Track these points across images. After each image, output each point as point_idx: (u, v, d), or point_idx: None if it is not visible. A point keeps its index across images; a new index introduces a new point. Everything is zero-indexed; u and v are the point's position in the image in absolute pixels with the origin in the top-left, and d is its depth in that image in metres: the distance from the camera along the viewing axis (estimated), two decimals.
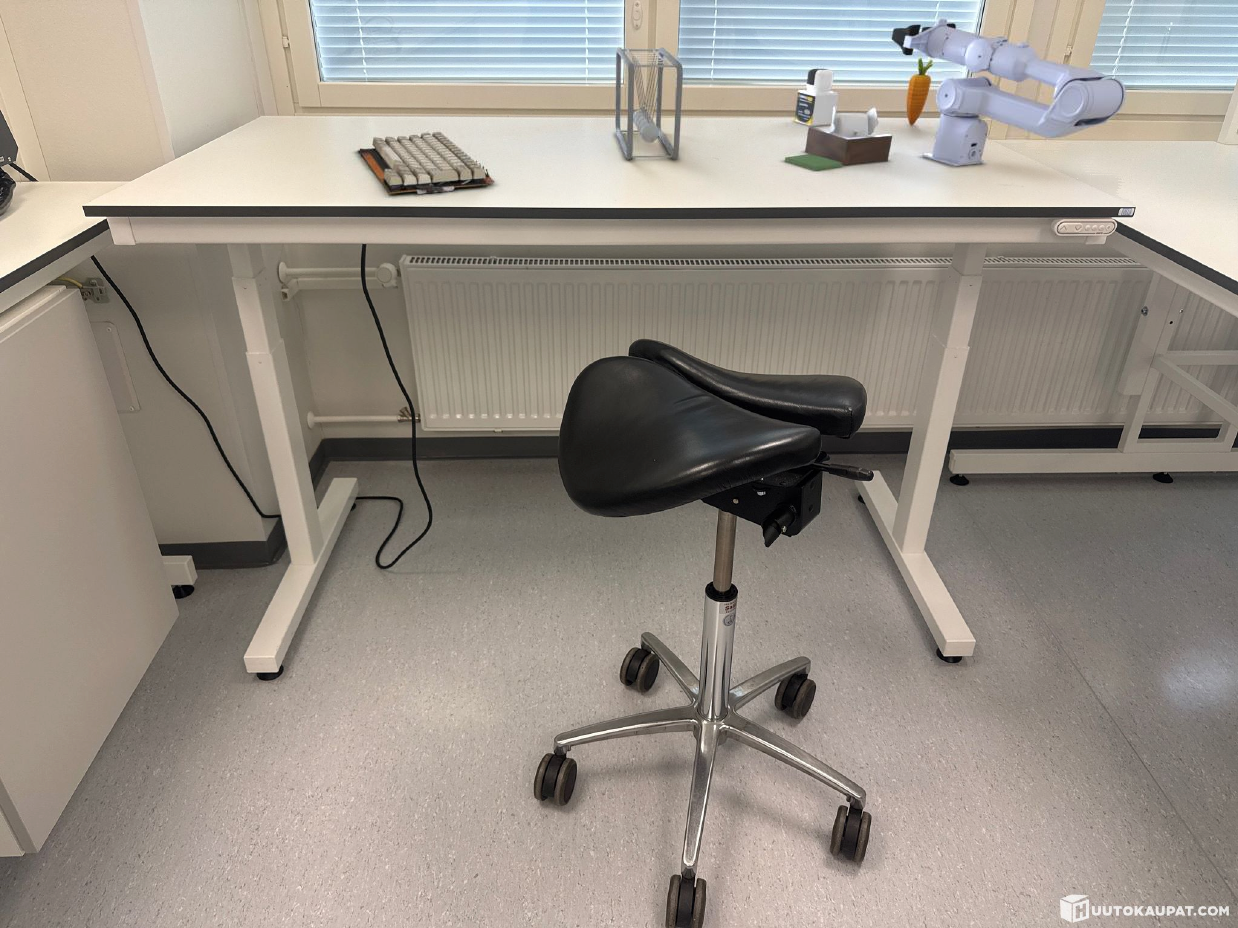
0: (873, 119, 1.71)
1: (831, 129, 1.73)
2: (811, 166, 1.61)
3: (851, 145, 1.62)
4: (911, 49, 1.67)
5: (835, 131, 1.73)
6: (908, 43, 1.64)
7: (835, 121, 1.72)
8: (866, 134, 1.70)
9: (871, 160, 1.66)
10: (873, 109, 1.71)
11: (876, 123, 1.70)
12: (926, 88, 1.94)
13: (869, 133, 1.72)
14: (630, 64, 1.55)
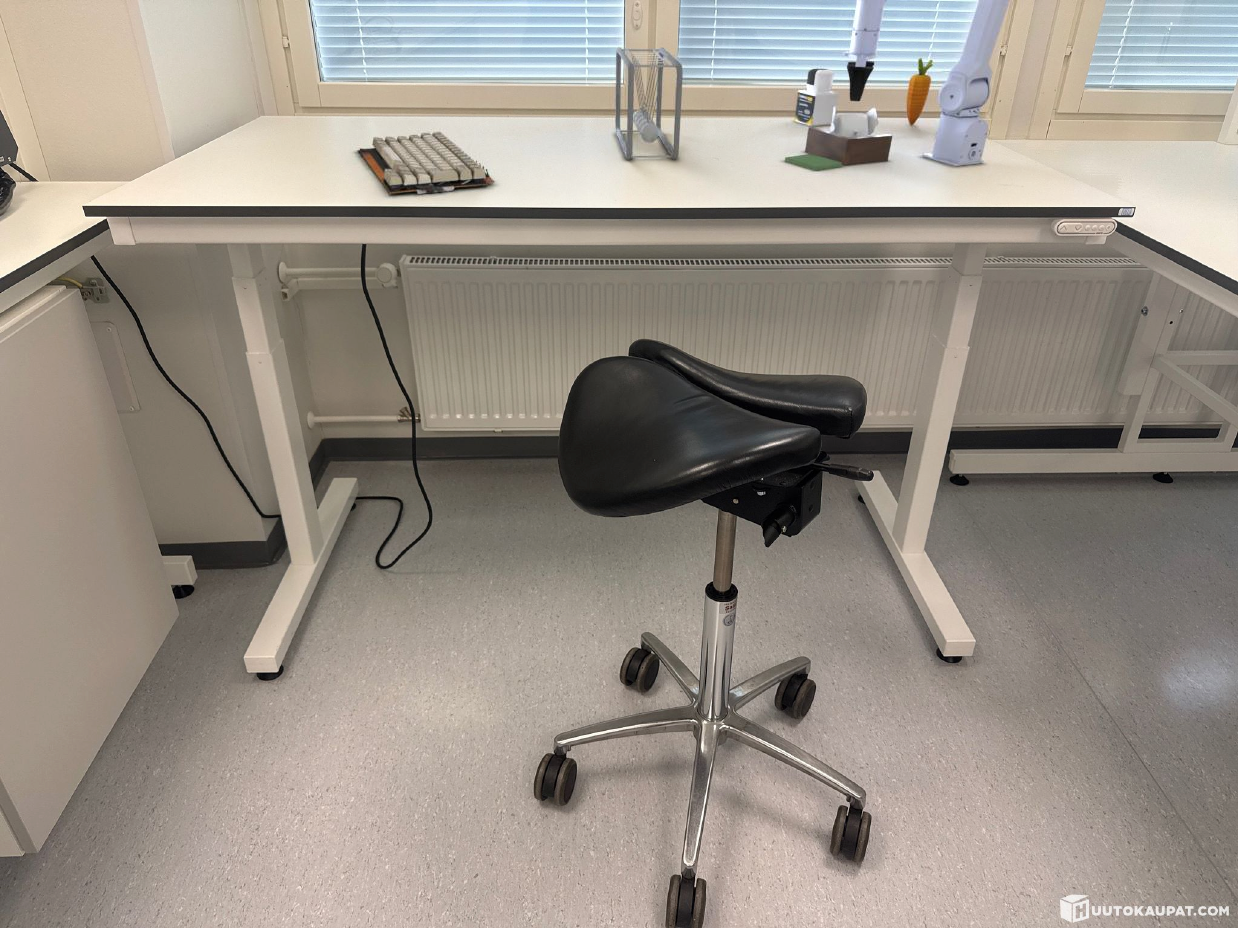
0: (873, 119, 1.71)
1: (831, 129, 1.73)
2: (811, 166, 1.61)
3: (851, 145, 1.62)
4: (868, 67, 1.75)
5: (835, 131, 1.73)
6: (862, 60, 1.71)
7: (835, 121, 1.72)
8: (866, 134, 1.70)
9: (871, 160, 1.66)
10: (873, 109, 1.71)
11: (876, 123, 1.70)
12: (926, 88, 1.94)
13: (869, 133, 1.72)
14: (630, 64, 1.55)
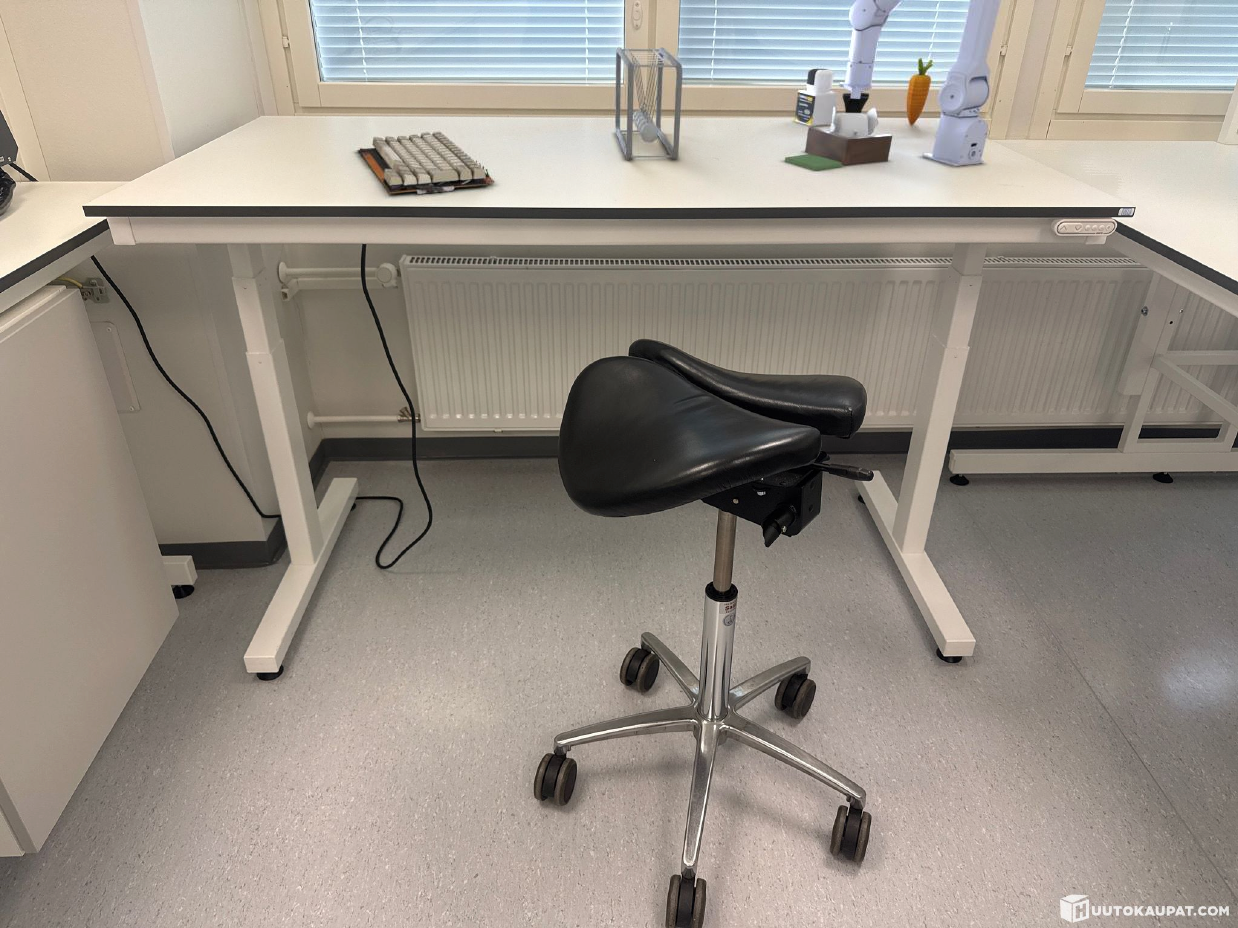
0: (873, 119, 1.71)
1: (831, 129, 1.73)
2: (811, 166, 1.61)
3: (851, 145, 1.62)
4: (863, 97, 1.79)
5: (835, 132, 1.73)
6: (857, 92, 1.74)
7: (835, 121, 1.72)
8: (866, 134, 1.70)
9: (871, 160, 1.66)
10: (873, 109, 1.71)
11: (876, 123, 1.70)
12: (926, 88, 1.94)
13: (869, 133, 1.72)
14: (630, 64, 1.55)
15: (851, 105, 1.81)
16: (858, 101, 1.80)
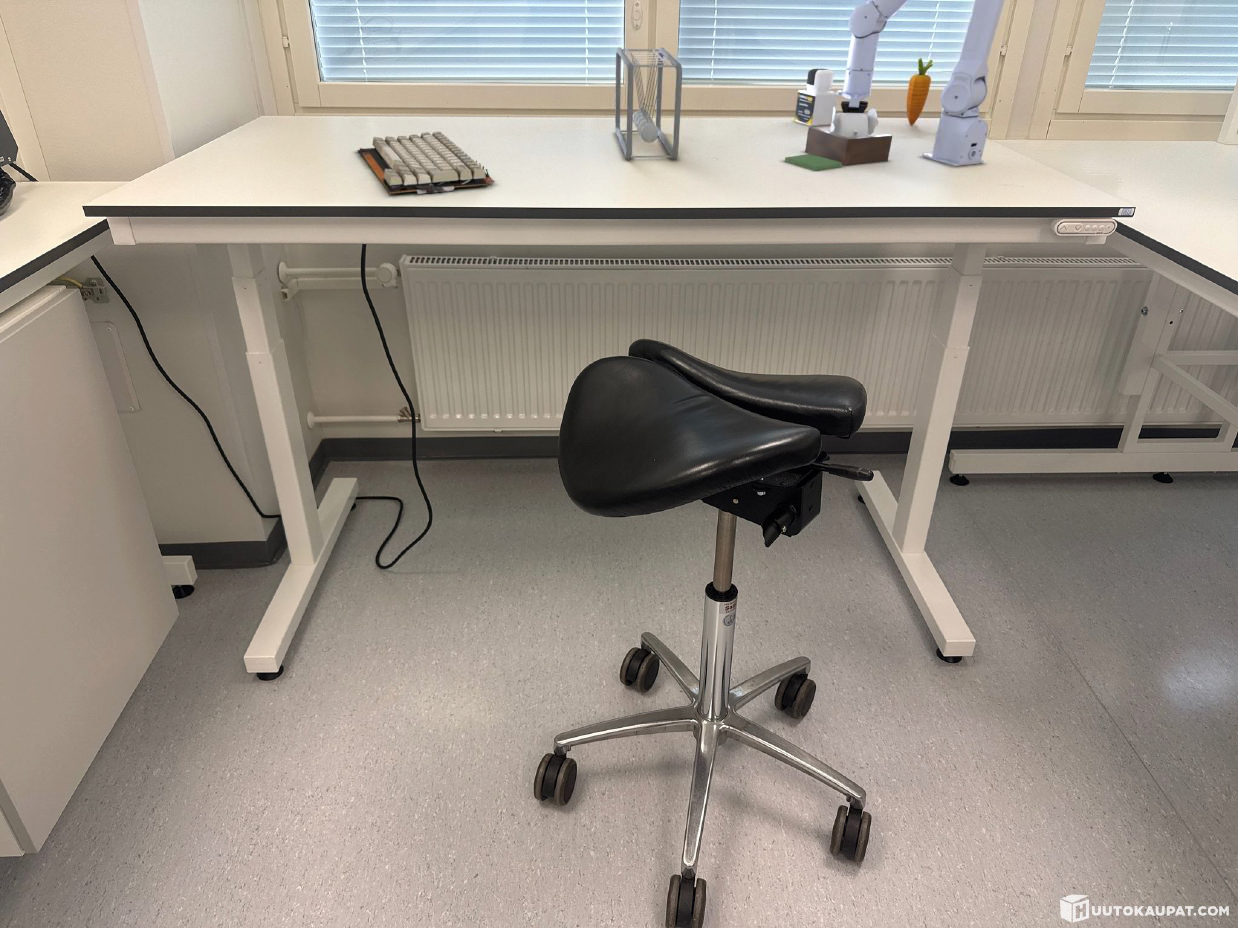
0: (873, 119, 1.71)
1: (831, 129, 1.73)
2: (811, 166, 1.61)
3: (851, 145, 1.62)
4: (862, 105, 1.76)
5: (835, 132, 1.73)
6: (855, 100, 1.70)
7: (835, 121, 1.72)
8: (866, 134, 1.70)
9: (871, 160, 1.66)
10: (873, 109, 1.71)
11: (876, 123, 1.70)
12: (926, 88, 1.94)
13: (869, 133, 1.72)
14: (629, 64, 1.55)
15: None
16: (857, 109, 1.77)
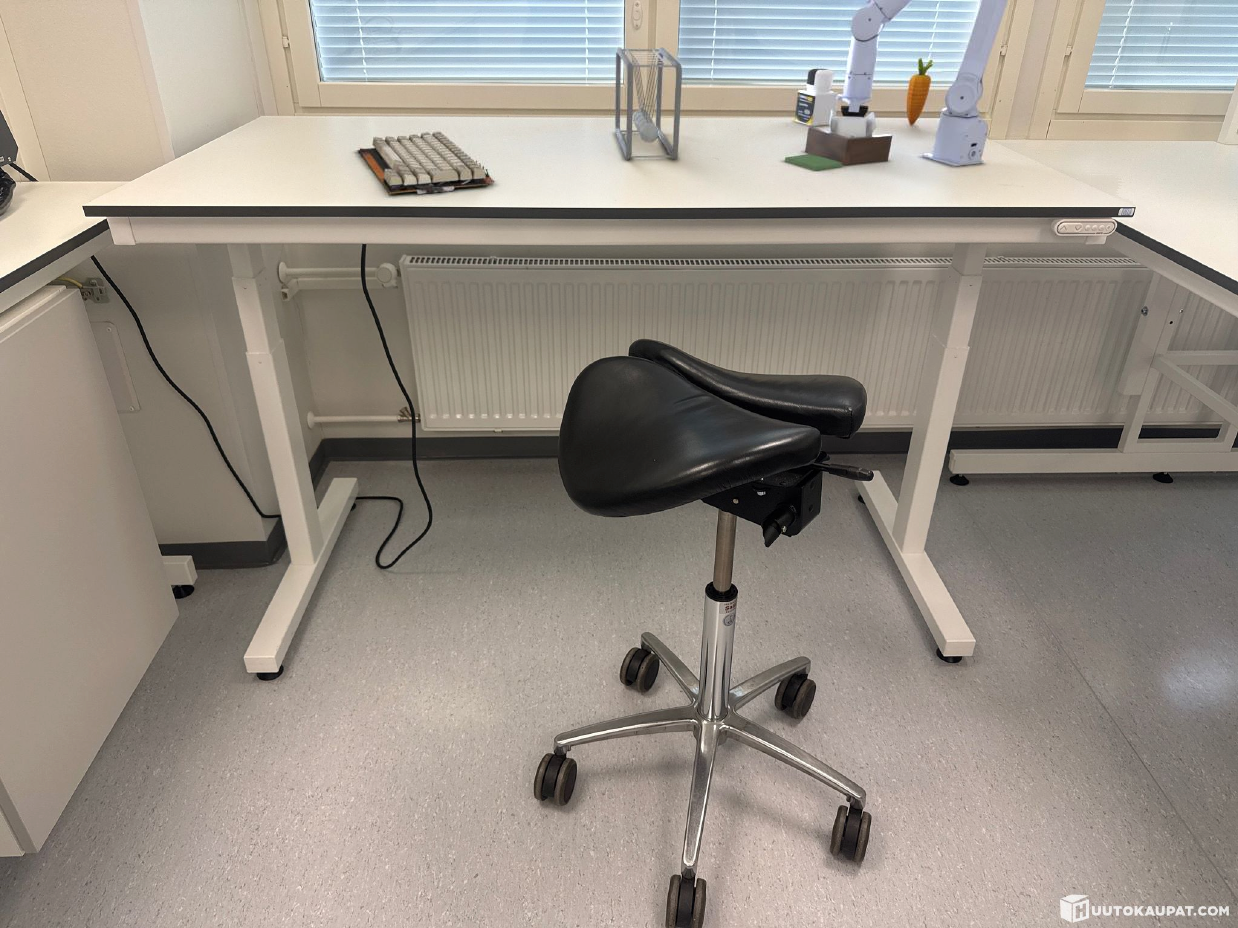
0: (872, 123, 1.67)
1: None
2: (811, 166, 1.61)
3: (851, 145, 1.62)
4: (862, 109, 1.72)
5: None
6: (855, 105, 1.66)
7: (833, 125, 1.69)
8: None
9: (871, 160, 1.66)
10: (872, 113, 1.67)
11: (874, 127, 1.66)
12: (926, 88, 1.94)
13: None
14: (629, 64, 1.55)
15: None
16: (857, 113, 1.73)
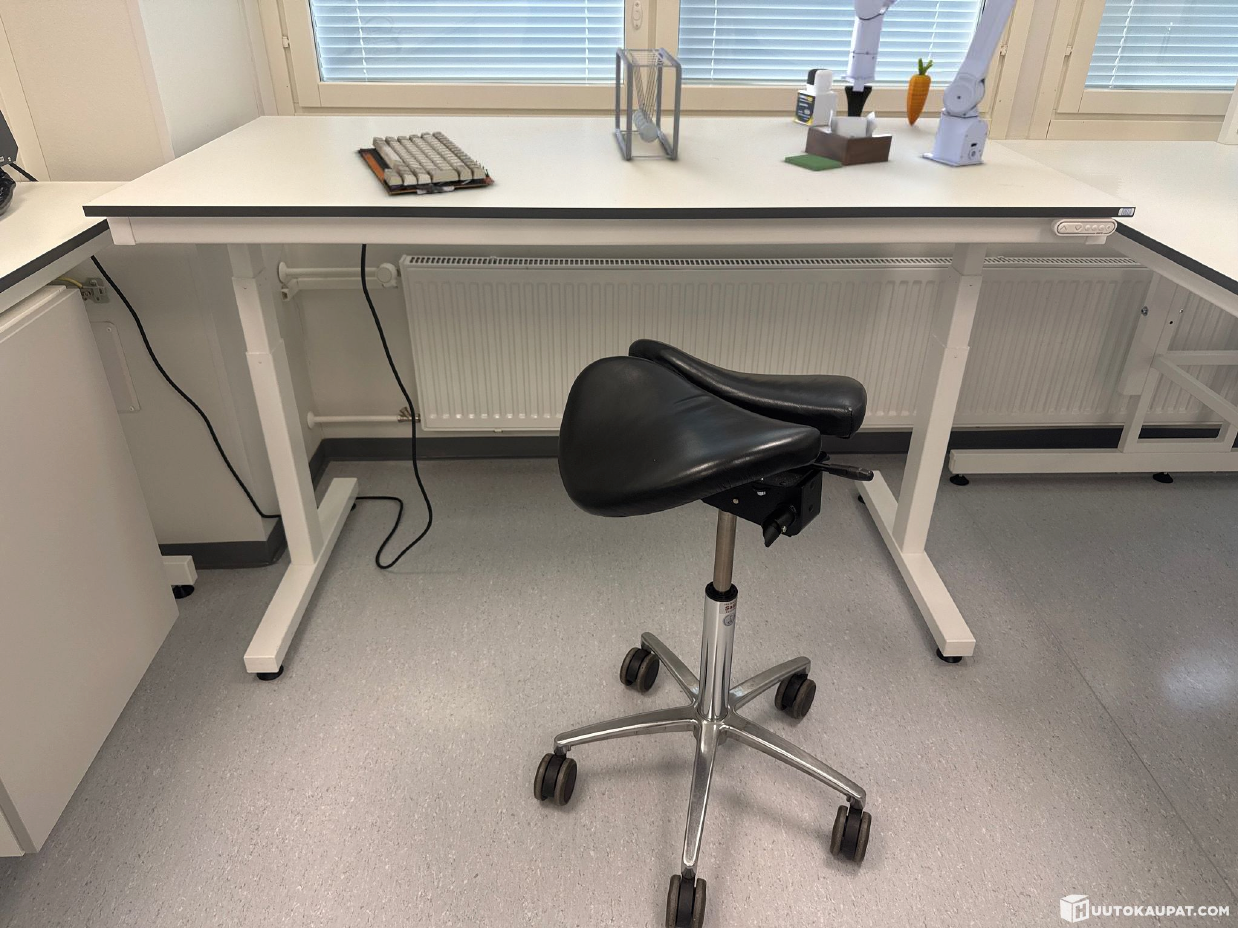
0: (872, 123, 1.67)
1: None
2: (811, 166, 1.61)
3: (851, 145, 1.62)
4: (866, 89, 1.72)
5: None
6: (859, 84, 1.66)
7: (833, 125, 1.69)
8: None
9: (871, 160, 1.66)
10: (872, 113, 1.67)
11: (874, 127, 1.66)
12: (926, 88, 1.94)
13: None
14: (629, 64, 1.55)
15: (853, 98, 1.73)
16: (861, 94, 1.73)
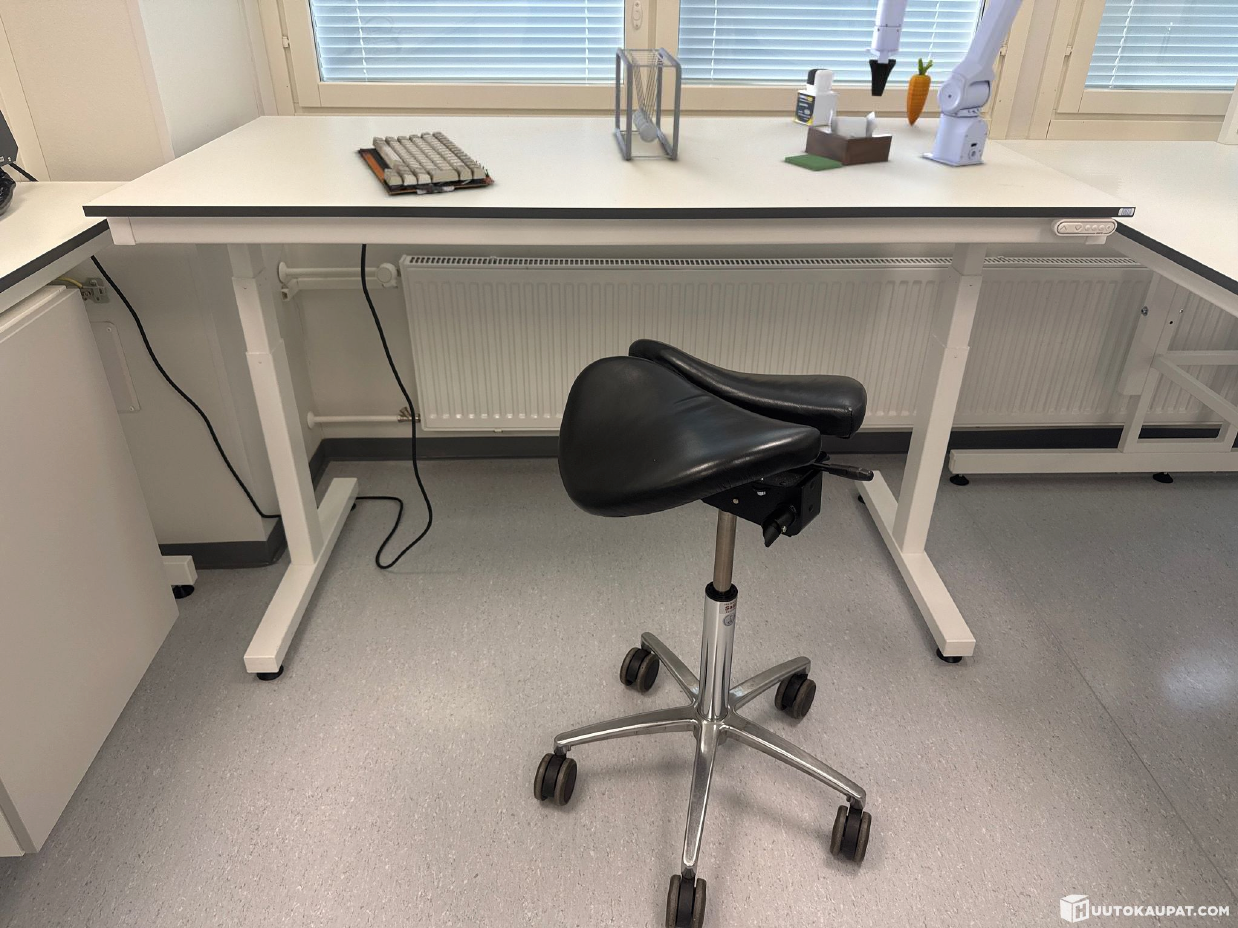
0: (872, 123, 1.67)
1: None
2: (811, 166, 1.61)
3: (851, 145, 1.62)
4: (890, 62, 1.75)
5: None
6: (884, 56, 1.69)
7: (833, 125, 1.69)
8: None
9: (871, 160, 1.66)
10: (872, 113, 1.67)
11: (874, 127, 1.66)
12: (926, 88, 1.94)
13: None
14: (629, 64, 1.55)
15: (877, 71, 1.76)
16: (885, 67, 1.75)
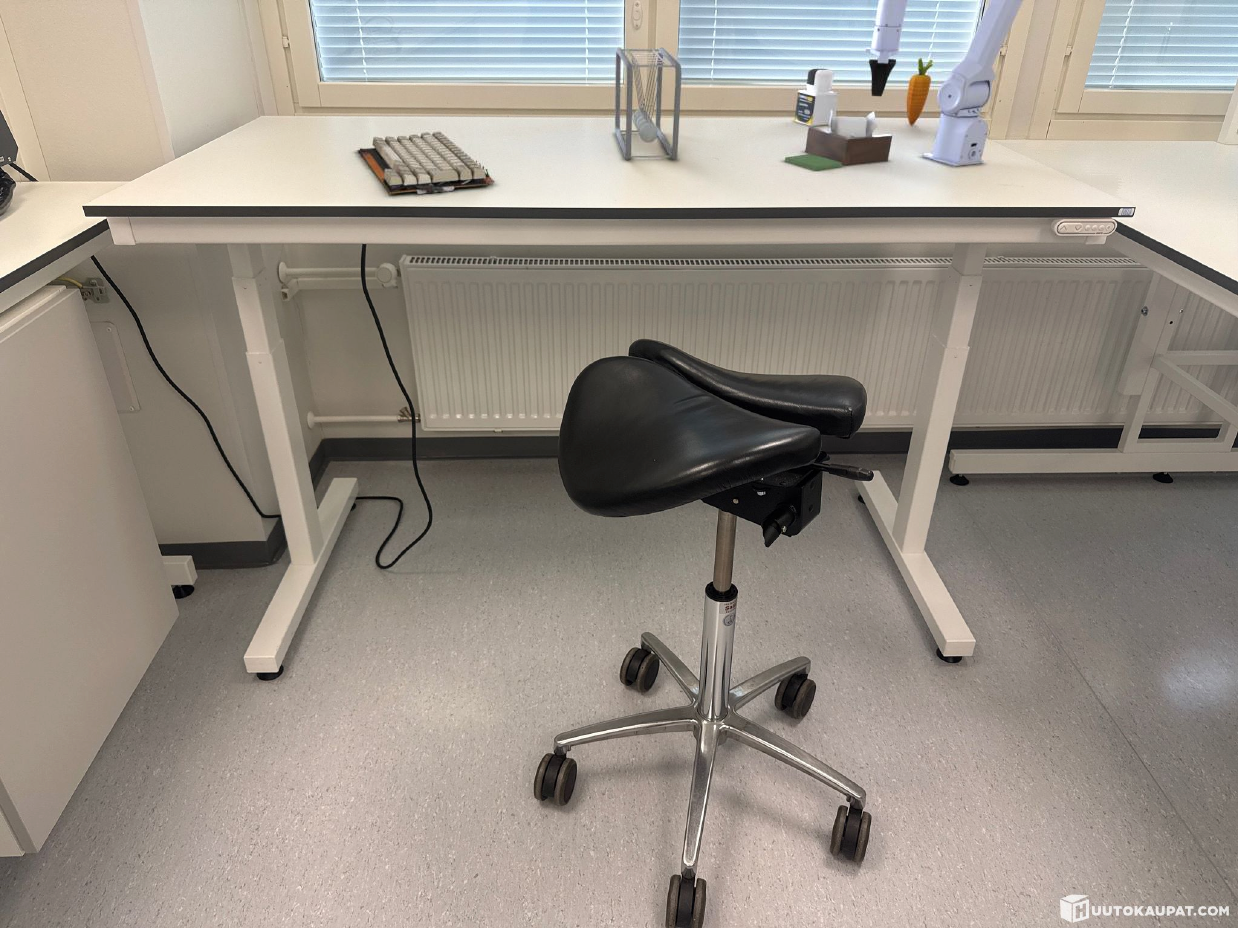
0: (872, 123, 1.67)
1: None
2: (811, 166, 1.61)
3: (851, 145, 1.62)
4: (890, 62, 1.75)
5: None
6: (884, 56, 1.69)
7: (833, 125, 1.69)
8: None
9: (871, 160, 1.66)
10: (872, 113, 1.67)
11: (874, 127, 1.66)
12: (926, 88, 1.94)
13: None
14: (629, 64, 1.55)
15: (877, 71, 1.76)
16: (885, 67, 1.75)
